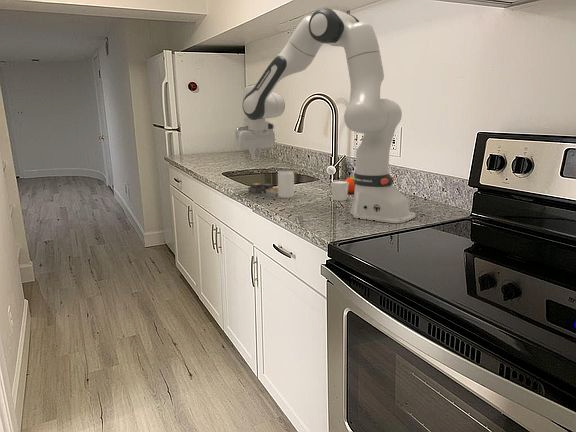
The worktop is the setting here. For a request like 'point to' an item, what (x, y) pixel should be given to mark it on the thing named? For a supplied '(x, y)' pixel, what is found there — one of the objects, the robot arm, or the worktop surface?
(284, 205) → the worktop surface
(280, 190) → the can
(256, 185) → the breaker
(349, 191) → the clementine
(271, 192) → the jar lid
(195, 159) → the worktop surface
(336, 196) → the white cup
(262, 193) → the panel
